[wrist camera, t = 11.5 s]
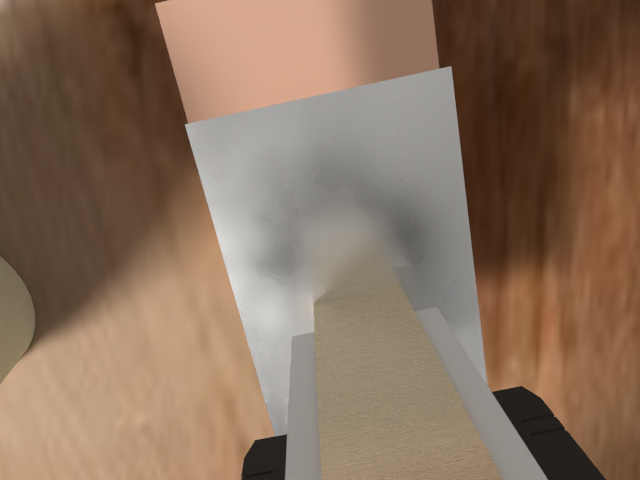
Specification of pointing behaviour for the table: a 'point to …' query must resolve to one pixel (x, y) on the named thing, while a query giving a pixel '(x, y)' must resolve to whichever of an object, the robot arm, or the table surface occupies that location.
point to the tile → (290, 49)
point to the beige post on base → (354, 267)
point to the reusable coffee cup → (14, 318)
